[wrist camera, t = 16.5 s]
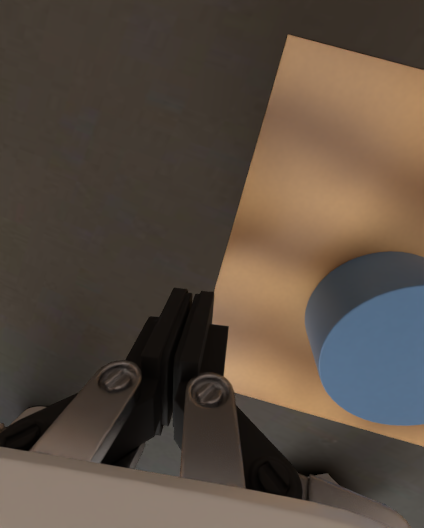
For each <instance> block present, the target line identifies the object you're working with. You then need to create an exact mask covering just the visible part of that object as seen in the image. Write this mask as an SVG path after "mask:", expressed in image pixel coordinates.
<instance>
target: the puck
mask: <svg viewBox="0 0 424 528" xmlns="http://www.w3.org/2000/svg"><path fill="white" fill-rule="evenodd" d="M305 328H306V332H307V336H308V339H309V343H310V346H311V350H312V353H313V356H314V360H315V363H316V367H317V370H318V374H319V377H320V380H321V383H322V385H323V387H324V389H325V391H326V392H327V394H328V395H329V396H330V397H331V399H332V400H333V401H334V402H336V403H337V404H338V405H339V406H340V407H341V408H343V409H344V410H346V411H347V412H349V413H351V414H353V415H355V416H357V417H359V418H362V419H364V420H368V421H371V422H375V423H380V424H386V425H397V426H409V425H421V424H424V257H422V256H418V255H415V254H411V253H405V252H392V251H389V252H377V253H372V254H367V255H364V256H360V257H357V258H355V259H352V260H350V261H348V262H346V263H344V264H342V265H340V266H339V267H337V268H336V269H334V270H333V271H331V272H330V273H329V274H328V275H327V276H326V277H325V278H323V279H322V281H321V282H320V283H319V284H318V285H317V287H316V288H315V290H314V291H313V293H312V294H311V296H310V298H309V301H308V303H307V307H306V311H305Z"/></svg>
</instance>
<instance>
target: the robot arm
mask: <svg viewBox="0 0 424 528" xmlns="http://www.w3.org/2000/svg"><path fill="white" fill-rule="evenodd" d="M213 306H214V292H207V291H201V293H200V294H195V297H194V300H193V303H192V293H188V290H187V289H181V288H174V289H173V291H172V293H171V295H170V297H169V299H168V301H167V303H166V305H165V307H164V309H163V311H162V313H161V315H160V317H152V316H150V317H149V318H148V320H147V321H146V323H145V325H144V327H143V329H142V331H141V332H140V334H139V336H138V338H137V340H136V342H135V343H134V345H133V347H132V349H131V351H130V352H129V354H128V356H127V358H126V360H120V361H114V362H111V363H108V364H106V365H105V366H103V367H101V368H100V369H99V370H98V371H97V372H96V373H95V374H94V376H93V377H92V378H91V379H90V380H89V381H88V383H87V384H86V385H85V386H84V387H83V388H82V390H81V391H80V392H79V393H77V394H75V395H72V396H70V397H68V398H66V399H64V400H61V401H59V402H57V403H55V404H53V405H50V406H48V407H46V408H44V409H42V410H39V411H37V412H35V413H33V414H31V415H28V416H26V417H24V418H22V419H20V420H18V421H16V422H14V423H13V424H11V425H10V426H8V427H5V426H4V423H0V528H411V526H410V525H409V523H408V522H407V521H406V520H405V519H404V518H403V517H402V516H401V515H400V514H399V513H398V512H397V511H395V510H394V509H392V508H390V507H389V506H387V505H385V504H383V503H380V502H378V501H375V500H373V499H371V498H368V497H366V496H363V495H361V494H358V493H356V492H354V491H351V490H349V489H346V488H344V487H341V486H339V485H336V484H334V483H332V482H329V481H327V480H324V479H322V478H319V477H317V476H314V475H312V474H310V476H309V477H306V476H304V475H302V474H299V473H297V471H296V470H295V468H294V467H293V466H292V464H291V463H290V462H289V461H288V460H287V459H286V458H285V457H284V456H283V455H282V453H281V452H280V451H279V450H278V449H277V448H276V447H275V446H274V445H273V444H272V443H271V442H270V441H269V440H268V439H267V438H266V437H265V435H264V434H263V433H262V432H261V431H260V430H259V429H258V428H257V427H256V426H255V425H254V424H253V423H252V422H251V421H250V420H249V418H248V417H247V416H246V415H245V414H244V413H243V412H242V411H241V410H240V409H239V408H238V407H237V406H236V403H235V395H234V390H233V386H232V384H231V383H230V382H229V380H228V379H226V378H225V377H224V368H225V358H226V349H227V339H228V330H229V326H223V325H216V324H212V318H213ZM172 413H173V427H174V440H175V441H176V443H177V445H178V446H179V448H180V449H181V451H182V452H181V468H180V477H176V476H170V475H164V474H159V473H153V472H147V471H141V470H135V467H136V465H137V463H138V461H139V459H140V457H141V455H142V453H143V450H144V447H145V442H146V441H148V440H149V439H151V438H152V437H154V436H155V435H159V436H160V435H161V432H162V429H163V425H165V426H169V423H170V420H171V416H172Z"/></svg>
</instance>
